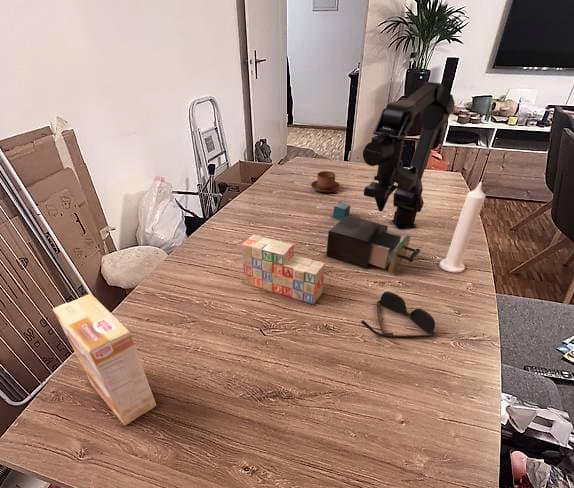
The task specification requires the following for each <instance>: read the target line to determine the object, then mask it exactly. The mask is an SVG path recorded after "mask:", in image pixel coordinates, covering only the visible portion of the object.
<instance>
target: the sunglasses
mask: <svg viewBox="0 0 574 488" xmlns="http://www.w3.org/2000/svg"><path fill="white" fill-rule="evenodd" d="M379 305H381V306H383V307H384V308H386V309H389V310H390V311H393V312H395V313H397V314H401V315H403V316H406V317H407V318H409V319H410V320H411V321H412V322H413V323H414V324H415V325H417V327H419V328H420V329H421V330H423V331H424V332H425V333H427V334H411V335H410V334H409V335H408V334H407V335H402V334H401V335H399V334H398V335H395V334H394V332H385V331H384V329H383V327H382V323H381V319H380V309H379ZM376 313H377V320H378V325H379V328H380V331H381V332H378V331H376V330H375V329H374V328H373V327H371V325H369V324H368V323H367V322H366V321H365V320H364V319H362V320H361V324H362V325H363V326H364V327H365V328H367V329H368V330H369V331H370V332H371V333H373V334H374V335H377V336H379V337H383V338H393V339H419V338H420V339H421V338H432V337H434V336H435V335H436V334H435V328H436V321H435V318H434V317H433V316H432V315H431V314H430V313H429V312H427V311H426V310H424V309H422V308H418V307H417V308H415V309H413V310H412V311H411V312H410V313H409V312H408V311H407V305H406V301H405V300H404V298H403V297H401V296H400V295H398V294H396V293H394V292H391V291H384V292H383V293H382V294H381V296H380V299H379V300H377V301H376Z"/></svg>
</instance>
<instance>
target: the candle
mask: <svg viewBox="0 0 574 488" xmlns="http://www.w3.org/2000/svg"><path fill="white" fill-rule="evenodd" d="M482 185H483V182H482V181H480V182H479V183H478V184H477V186H476V188H475V189H473V190H470V191H469V192H468V193H467V194H466V197H465V199H464V203H463V205H462V209H461V213H460V215H459V218H458V221H457V224H456V227H455V230H454V233H453V236H452V239H451V242H450V245H449V247H448V251H447V253H446V254H447V255H446V257H445V258H443V259H441V260H440V261H439V267H440V268H441V269H442V270H443V271H445V272H449V273H453V274H455V273H456V274H457V273H461V272H464V270H465V268H466V267H465V264H464V263H463V260H464V258H465V254H466V251H467V249H468V247H469V244H470V240H471V238H472V236H473V233H474V230H475V228H476V224H477V221H478V219H479V216H480V214H481V210H482V208H483V205H484V202H485V200H486V194H485V193H484V192H483V190H482V189H483V187H482Z"/></svg>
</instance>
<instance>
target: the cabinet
mask: <svg viewBox="0 0 574 488" xmlns="http://www.w3.org/2000/svg"><path fill="white" fill-rule="evenodd" d="M388 227H389V226H388V225H386V224H382V223H379V222H374V221H371V220H368V219H363V218H359V217H356V216H351V215H349V216H348V215H347V216H346V217H345V218H343V219H342V220H339V221H338V222H336V224H334V225H333V226H332V227H331V228H330V229H328V231H327V232H328V234H327V244H326V253H325V254H326V257H328V258H331V259H333V260H334V259H335V260H338V261H340V262H344V263H346V264H350V265H352V266H356V267H359V268H362V269H365V270H367V269H368V268H369V267H370V266H371V265H372V264H369V258H370V252H371V246H372V243H373V242H374V241H375V240H376V239H377V238H378V237H379V236H380V235H381V234H382V233H383V232H384V231H387V232H388Z"/></svg>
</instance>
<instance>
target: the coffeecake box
mask: <svg viewBox="0 0 574 488" xmlns="http://www.w3.org/2000/svg"><path fill="white" fill-rule="evenodd" d="M52 312H53V313H54V315H55V317H56V319H57V320H58V322H59V324H60V326H61V329H62V330H63V332H64V334H65V336H66V338H67V340H68V342H69V343H70V345H71V347H72V349H73V351H74V353H75V355H76V357H77V359H78V361H79V363H80V365H81V367H82V369H83V370H84V372H85V374H86V376H87V379H88V380H89V383H90V384H91V386H92V388H93V389H94V390H95V391H96V392H97V393H98V395H99V396H100V398H101V399H102V400H103V401H104V403H106V405H107V406H108V407H109V409H111V411H112V412H113V413H114V415H115V416H116V417H117V418H118V420H119V421H120V422H121V423H122V424H123V426H127V425H128V424H130V423H132V422H133V421H135V420H136V419H137V418H139V417H141V416H142V415H144V414H145V413H147V412H149V411H150V410H152V409H155V408H156V407H157V403H156V400H155V397H154V394H153V392H152V390H151V387H150V385H149V380H148V378H147V376H146V372H145V369H144V367H143V364H142V361H141V359H140V356H139V354H138V350H137V349H136V345H135V343H134V340H133V337H132V335H131V331H129V330H128V329H127V328H126V326H124V325H123V324H122V322H120V320H118V319H117V318H116V317H115V316H114V315H113V314H112V312H110V311H109V309H107V307H106V306H104V305H103V304H102V303H101V302H100V301H99V300H98V299H97V298H96V297H95V296H94V295H93V294H92V293H89V294H86V295H84V296H81V297H79V298H77V299H74V300H72V301H69V302H64V303H63V304H60V305H57V306H56V307H53V308H52Z"/></svg>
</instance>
